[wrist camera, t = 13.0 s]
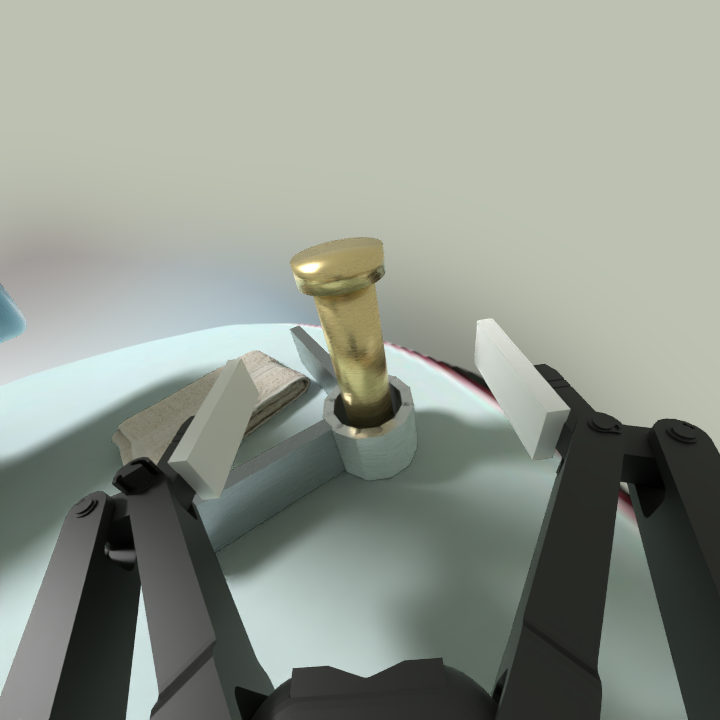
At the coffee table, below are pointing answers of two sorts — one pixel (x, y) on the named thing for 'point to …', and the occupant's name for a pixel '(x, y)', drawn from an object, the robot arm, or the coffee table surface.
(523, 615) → the robot arm
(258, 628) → the coffee table surface
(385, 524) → the coffee table surface
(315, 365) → the hinge
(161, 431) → the washcloth
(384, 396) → the hinge pin
